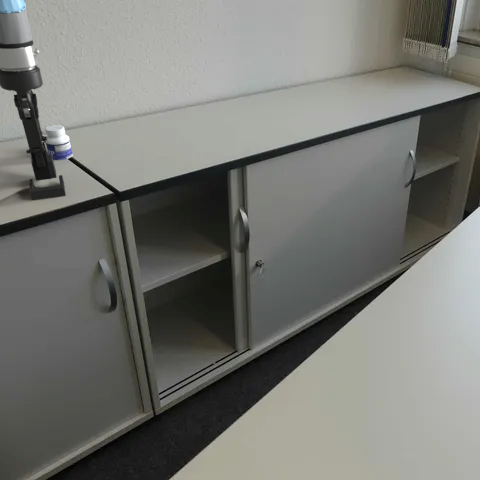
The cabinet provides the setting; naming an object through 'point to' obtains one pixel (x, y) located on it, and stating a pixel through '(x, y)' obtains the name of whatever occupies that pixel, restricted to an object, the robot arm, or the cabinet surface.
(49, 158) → the pad block
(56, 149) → the pill bottle
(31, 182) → the dark grey u-shaped piece
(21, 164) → the cabinet surface
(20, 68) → the robot arm
